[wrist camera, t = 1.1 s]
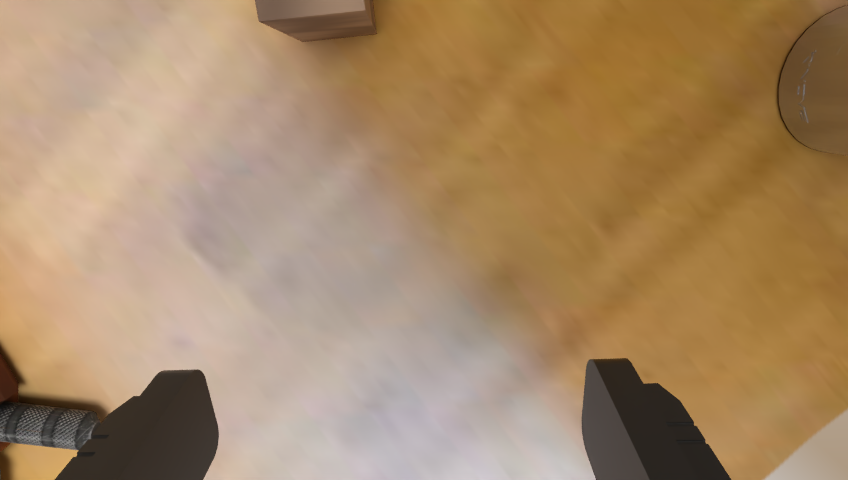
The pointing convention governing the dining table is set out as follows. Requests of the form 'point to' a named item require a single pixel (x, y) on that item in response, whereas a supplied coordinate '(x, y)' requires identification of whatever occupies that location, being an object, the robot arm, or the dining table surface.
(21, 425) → the tool
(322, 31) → the walnut block
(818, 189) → the dining table surface
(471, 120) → the dining table surface
